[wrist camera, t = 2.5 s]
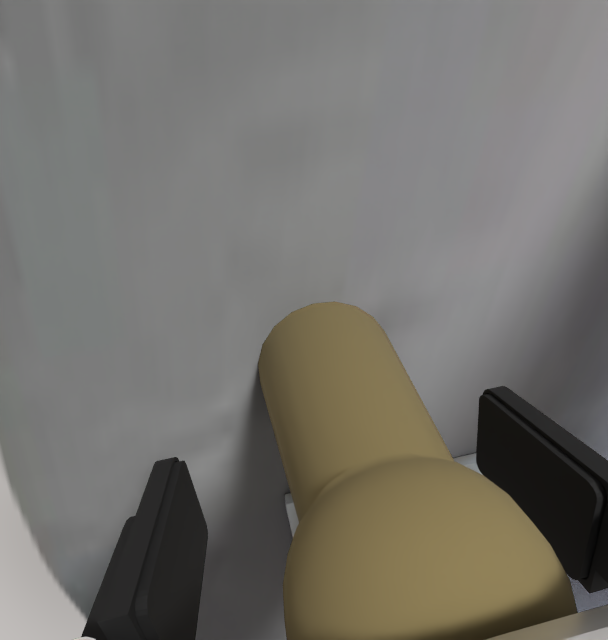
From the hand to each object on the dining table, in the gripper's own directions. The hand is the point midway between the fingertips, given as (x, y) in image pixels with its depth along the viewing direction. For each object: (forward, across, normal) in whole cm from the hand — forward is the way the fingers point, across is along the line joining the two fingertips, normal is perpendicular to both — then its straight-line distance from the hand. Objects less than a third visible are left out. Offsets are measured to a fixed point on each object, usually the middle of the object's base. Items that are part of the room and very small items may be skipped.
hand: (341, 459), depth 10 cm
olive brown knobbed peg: (+5, -1, 0) cm, 5 cm away
